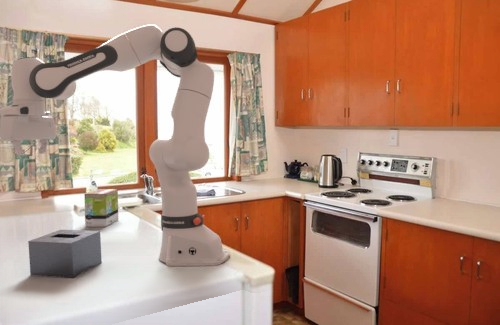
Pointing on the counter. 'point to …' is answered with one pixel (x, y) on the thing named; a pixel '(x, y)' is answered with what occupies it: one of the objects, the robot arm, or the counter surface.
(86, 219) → the tea box
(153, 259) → the counter surface
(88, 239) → the money box
